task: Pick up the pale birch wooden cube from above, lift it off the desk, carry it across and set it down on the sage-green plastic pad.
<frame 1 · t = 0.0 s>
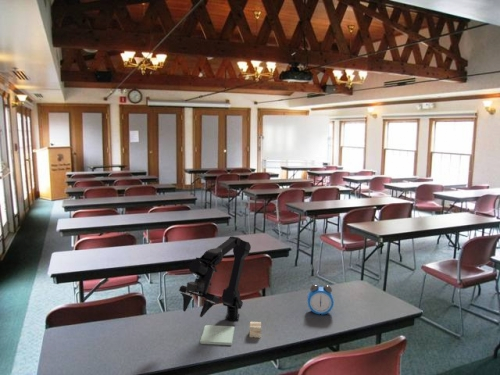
hand: (192, 314, 164), 15 cm above the table, tool tilted 35°, fingers open, 9 cm apart
alarm clock: (319, 312, 200), on the table
green pad: (217, 336, 175), on the table
birch cube: (255, 334, 177), on the table
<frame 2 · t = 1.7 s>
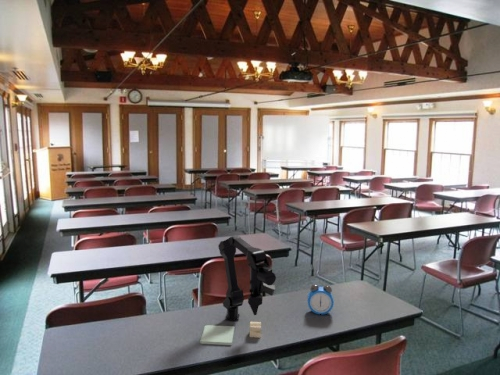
hand: (255, 310, 175), 12 cm above the table, tool pointing down, fingers open, 9 cm apart
nothing on the table moved.
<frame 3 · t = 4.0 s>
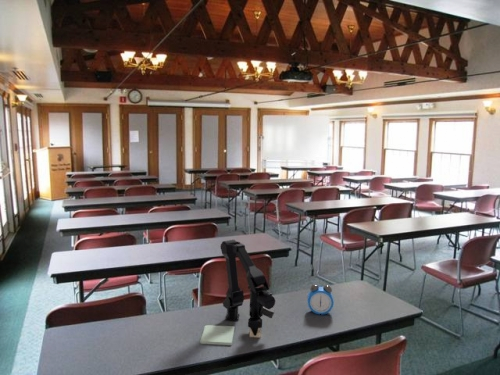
hand: (255, 332, 177), 1 cm above the table, tool pointing down, fingers closed on birch cube, 5 cm apart
birch cube: (255, 334, 177), on the table, touching gripper
everything else where it was.
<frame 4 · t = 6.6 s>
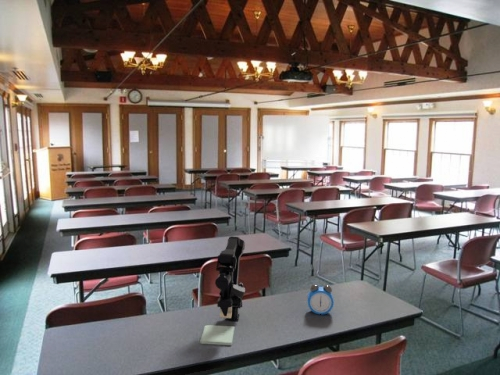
hand: (225, 313, 174), 11 cm above the table, tool pointing down, fingers closed on birch cube, 5 cm apart
birch cube: (226, 315, 174), point 10 cm above the table, touching gripper
everything else where it was.
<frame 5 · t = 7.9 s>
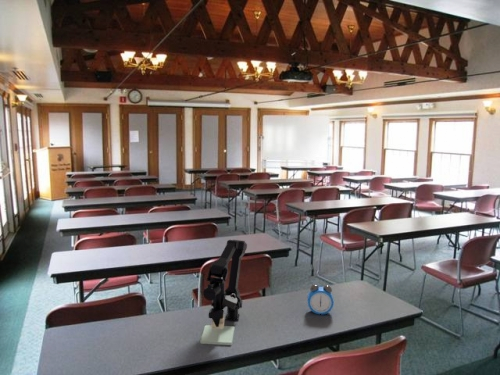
hand: (218, 323, 174), 6 cm above the table, tool pointing down, fingers closed on birch cube, 5 cm apart
birch cube: (218, 325, 174), point 5 cm above the table, touching gripper
everything else where it was.
when the fingers open (3 cm above the table, at t = 9.2 s): birch cube drops 1 cm, resting on green pad.
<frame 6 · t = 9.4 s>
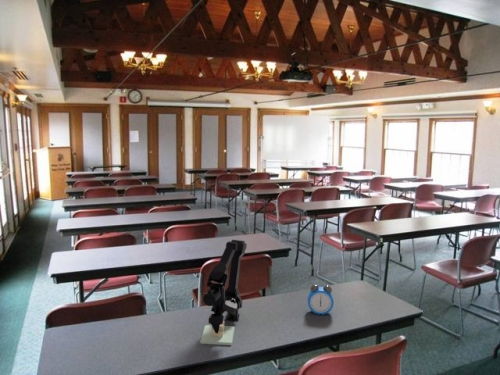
hand: (218, 328, 175), 3 cm above the table, tool pointing down, fingers open, 7 cm apart
birch cube: (218, 333, 175), point 1 cm above the table, touching green pad
everything else where it was.
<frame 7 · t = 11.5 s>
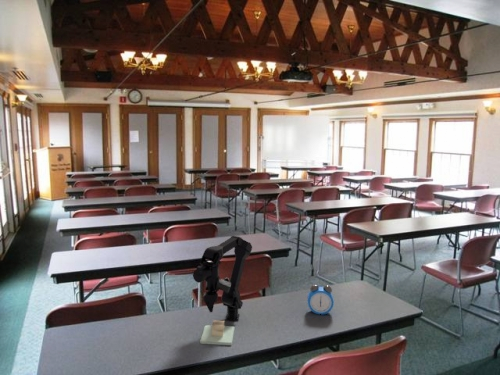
hand: (212, 307, 177), 12 cm above the table, tool pointing down, fingers open, 9 cm apart
nothing on the table moved.
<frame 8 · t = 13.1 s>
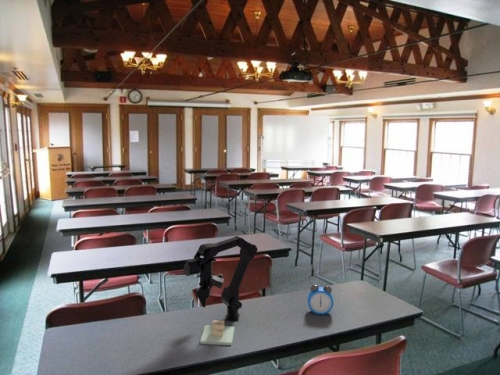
hand: (205, 302, 181), 12 cm above the table, tool pointing down, fingers open, 9 cm apart
nothing on the table moved.
at the end: birch cube inside the target area on the green pad (0.0 cm from its centre), point 1.2 cm above the green pad's base; birch cube tilted 0°; the gripper is holding nothing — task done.
